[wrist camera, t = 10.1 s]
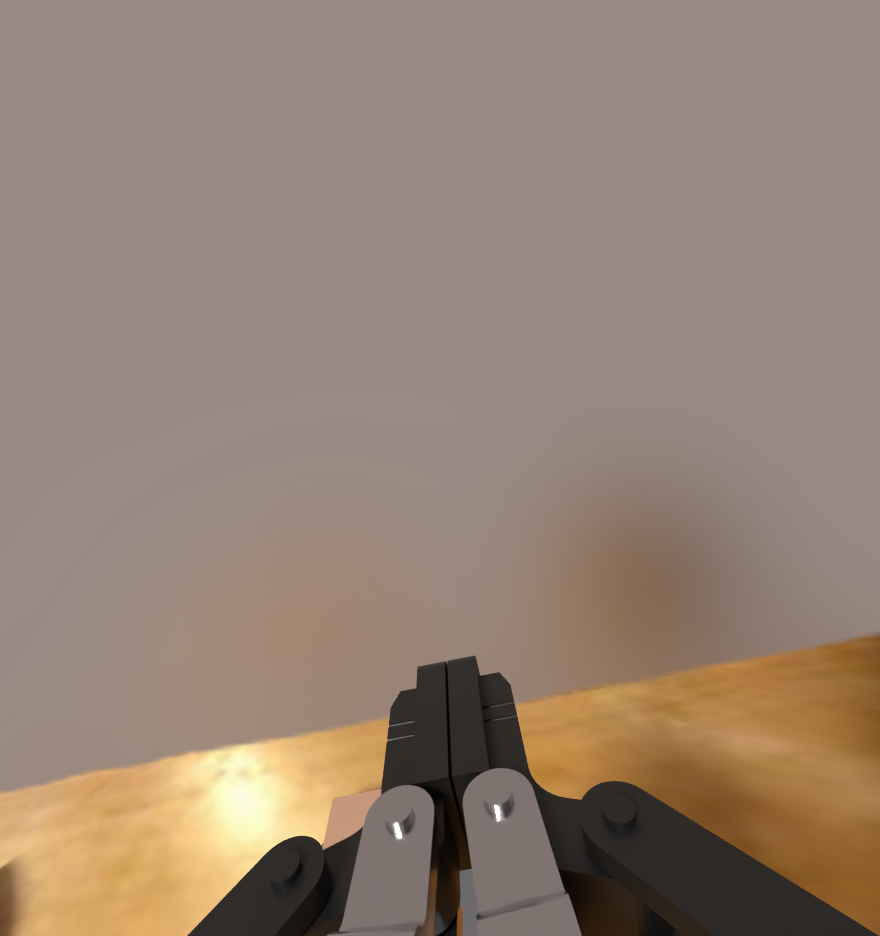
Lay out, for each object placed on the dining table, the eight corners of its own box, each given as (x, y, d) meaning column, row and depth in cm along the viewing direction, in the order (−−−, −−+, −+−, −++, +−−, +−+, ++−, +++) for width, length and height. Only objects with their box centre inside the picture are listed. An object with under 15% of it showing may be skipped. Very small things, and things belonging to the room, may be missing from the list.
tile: (299, 1035, 30) (339, 818, 43) (434, 1011, 30) (431, 801, 43) (289, 1009, 29) (332, 798, 43) (426, 984, 29) (426, 780, 43)
